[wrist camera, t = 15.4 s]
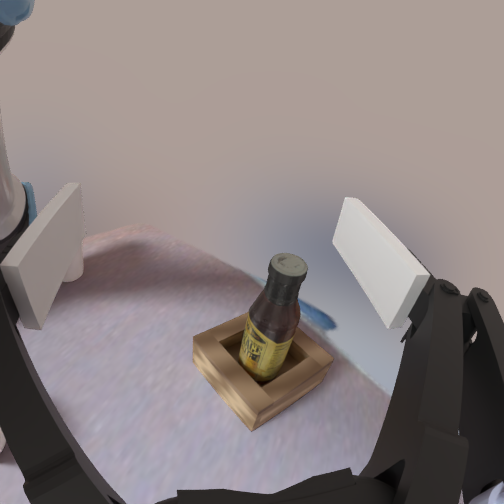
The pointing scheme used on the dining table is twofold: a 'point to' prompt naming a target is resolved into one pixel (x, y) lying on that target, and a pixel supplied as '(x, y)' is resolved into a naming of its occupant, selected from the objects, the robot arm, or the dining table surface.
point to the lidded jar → (2, 440)
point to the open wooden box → (243, 386)
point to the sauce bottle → (273, 319)
